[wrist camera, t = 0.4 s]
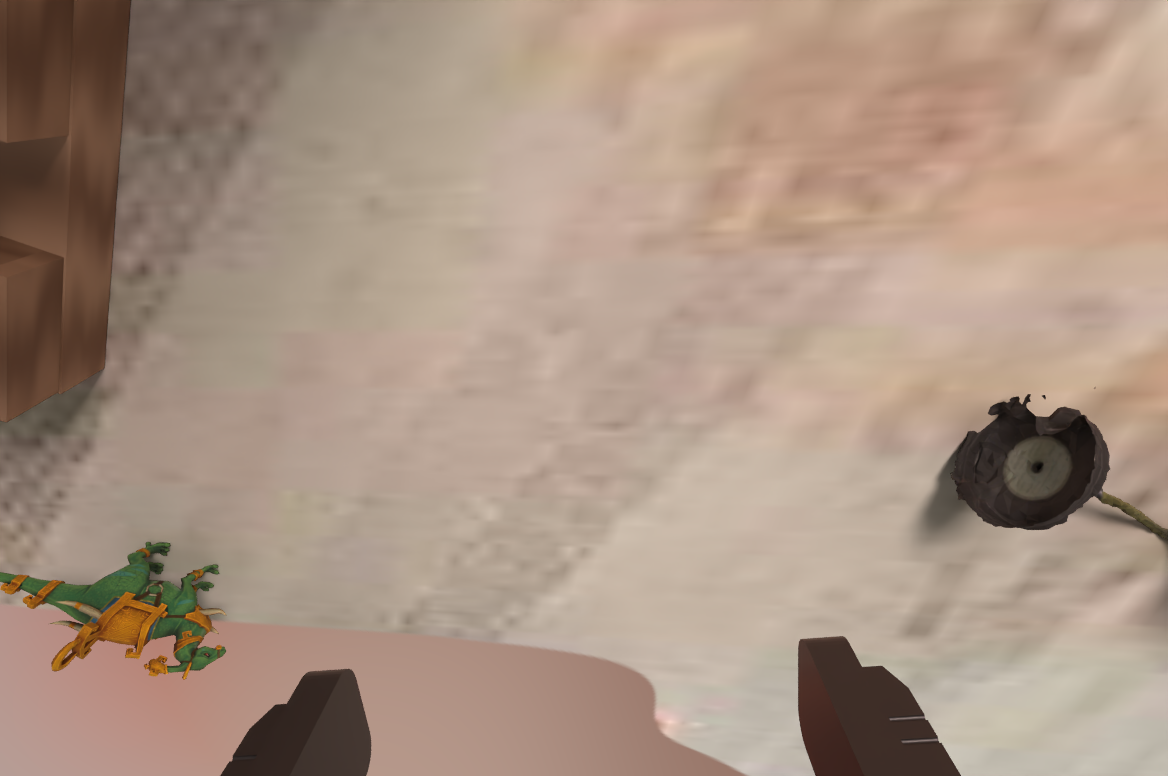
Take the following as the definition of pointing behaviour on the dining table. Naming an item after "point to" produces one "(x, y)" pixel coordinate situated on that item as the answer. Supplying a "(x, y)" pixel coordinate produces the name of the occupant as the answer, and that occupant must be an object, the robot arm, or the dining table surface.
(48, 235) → the stool seat
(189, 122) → the dining table surface
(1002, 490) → the artificial flower
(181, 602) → the figurine
